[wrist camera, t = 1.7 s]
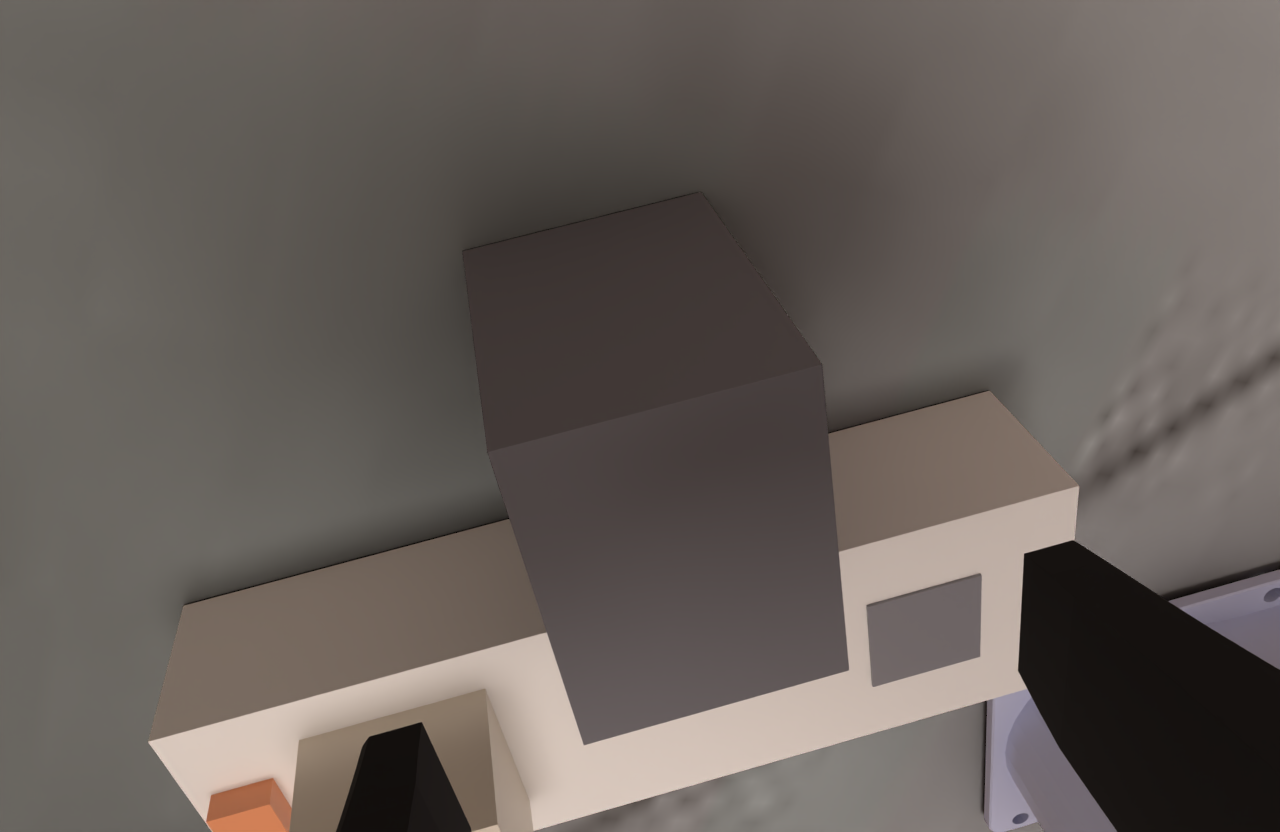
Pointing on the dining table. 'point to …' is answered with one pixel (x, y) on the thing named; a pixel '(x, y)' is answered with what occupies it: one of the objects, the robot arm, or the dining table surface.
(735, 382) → the block
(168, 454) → the dining table surface
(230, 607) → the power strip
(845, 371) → the dining table surface
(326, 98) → the dining table surface
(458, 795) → the beige plug
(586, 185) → the dining table surface
